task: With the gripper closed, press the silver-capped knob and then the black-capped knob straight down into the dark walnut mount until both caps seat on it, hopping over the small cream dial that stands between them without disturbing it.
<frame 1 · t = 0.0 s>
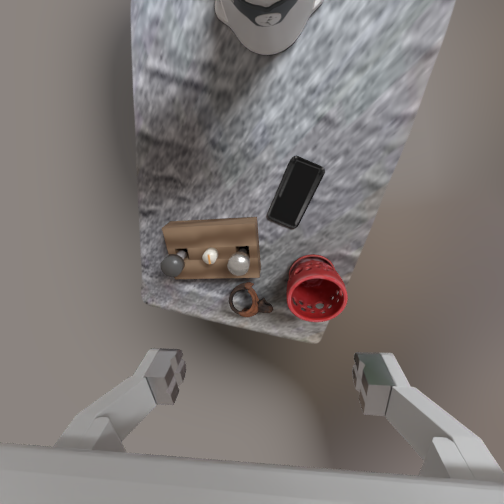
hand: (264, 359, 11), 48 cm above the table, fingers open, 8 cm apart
silver knob: (240, 258, 54), point 8 cm above the table, slide at 0.0 cm
phone: (294, 193, 56), on the table
mount: (216, 245, 63), on the table
dial: (211, 253, 58), point 5 cm above the table, touching mount
plant pot: (310, 272, 63), on the table
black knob: (176, 260, 56), point 8 cm above the table, slide at 0.0 cm
brown open round fixture: (252, 295, 69), on the table
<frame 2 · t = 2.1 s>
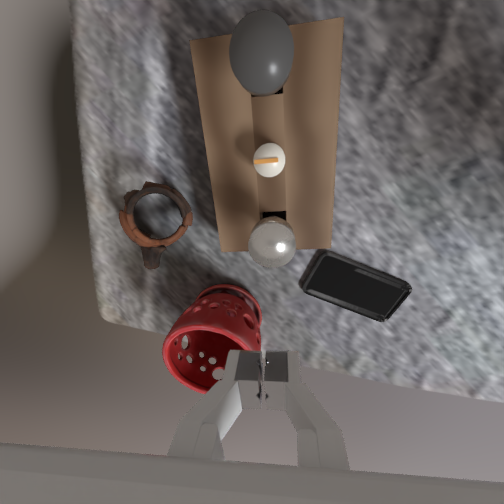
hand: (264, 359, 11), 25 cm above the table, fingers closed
silver knob: (272, 234, 26), point 8 cm above the table, slide at 0.0 cm
phone: (353, 284, 38), on the table
mount: (271, 155, 31), on the table
dial: (270, 158, 26), point 5 cm above the table, touching mount
plant pot: (226, 306, 42), on the table
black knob: (263, 66, 20), point 8 cm above the table, slide at 0.0 cm
brown open round fixture: (163, 219, 36), on the table
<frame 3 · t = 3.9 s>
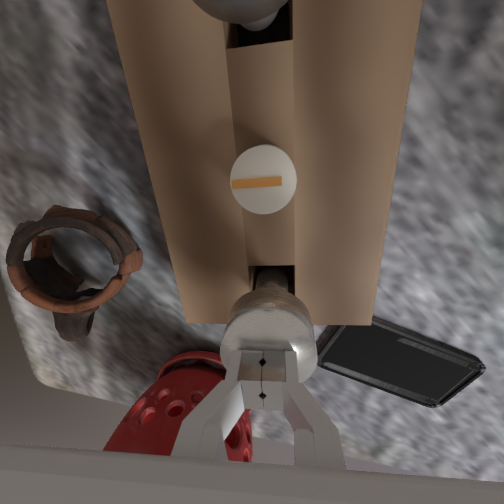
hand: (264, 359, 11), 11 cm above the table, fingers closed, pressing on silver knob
silver knob: (270, 310, 14), point 8 cm above the table, slide at 0.7 cm, touching gripper
phone: (392, 354, 26), on the table
mount: (269, 165, 18), on the table
dial: (265, 174, 14), point 5 cm above the table, touching mount
plant pot: (206, 375, 30), on the table
brown open round fixture: (101, 257, 24), on the table
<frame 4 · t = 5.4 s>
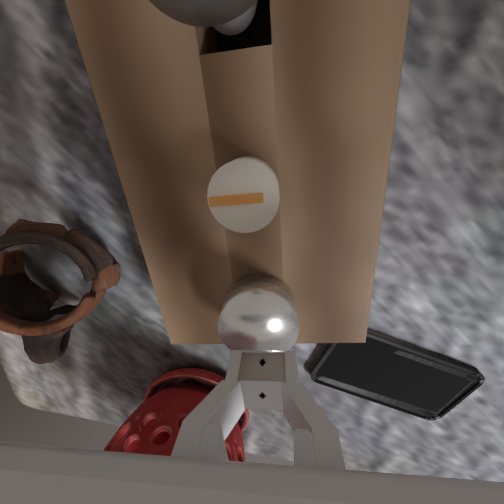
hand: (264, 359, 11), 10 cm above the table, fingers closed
silver knob: (260, 294, 17), point 4 cm above the table, slide at 4.5 cm
phone: (389, 366, 25), on the table
mount: (255, 175, 17), on the table
dial: (248, 188, 13), point 5 cm above the table, touching mount
plant pot: (197, 392, 28), on the table
brown open round fixture: (77, 271, 23), on the table
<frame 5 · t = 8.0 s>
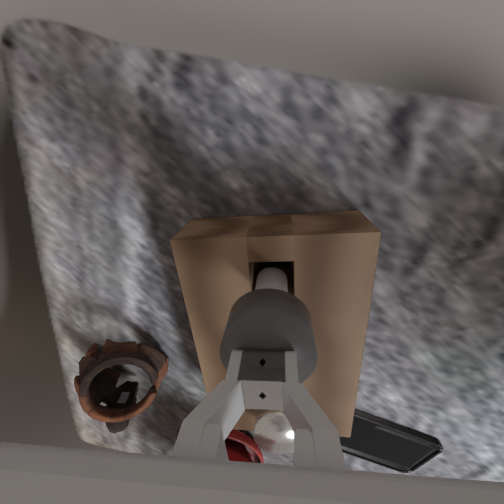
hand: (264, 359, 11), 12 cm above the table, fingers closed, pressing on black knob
silver knob: (279, 401, 25), point 4 cm above the table, slide at 4.5 cm
phone: (372, 432, 32), on the table
mount: (276, 317, 25), on the table
plant pot: (223, 441, 37), on the table
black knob: (270, 310, 14), point 8 cm above the table, slide at 0.1 cm, touching gripper
brown open round fixture: (135, 357, 31), on the table
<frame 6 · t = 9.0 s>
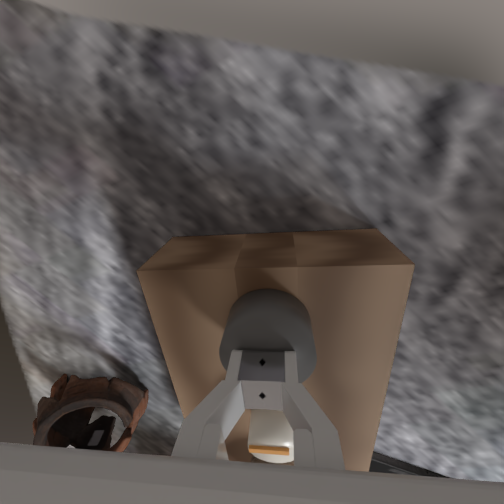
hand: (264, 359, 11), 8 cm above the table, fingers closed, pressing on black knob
silver knob: (278, 450, 21), point 4 cm above the table, slide at 4.5 cm
phone: (384, 472, 29), on the table
mount: (275, 350, 21), on the table
dial: (274, 406, 17), point 5 cm above the table, touching mount
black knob: (269, 311, 14), point 4 cm above the table, slide at 4.4 cm, touching gripper
brown open round fixture: (111, 389, 27), on the table
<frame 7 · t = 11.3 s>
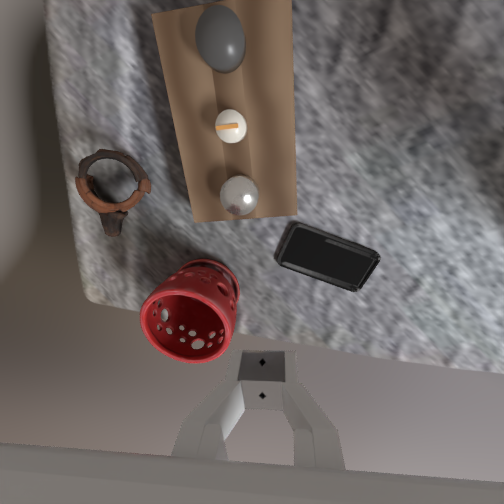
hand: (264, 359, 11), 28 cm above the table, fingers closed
silver knob: (242, 191, 32), point 4 cm above the table, slide at 4.5 cm
phone: (326, 256, 40), on the table
mount: (239, 129, 33), on the table
dial: (233, 127, 28), point 5 cm above the table, touching mount
plant pot: (206, 283, 44), on the table
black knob: (225, 49, 26), point 4 cm above the table, slide at 4.5 cm
brown open round fixture: (124, 190, 38), on the table
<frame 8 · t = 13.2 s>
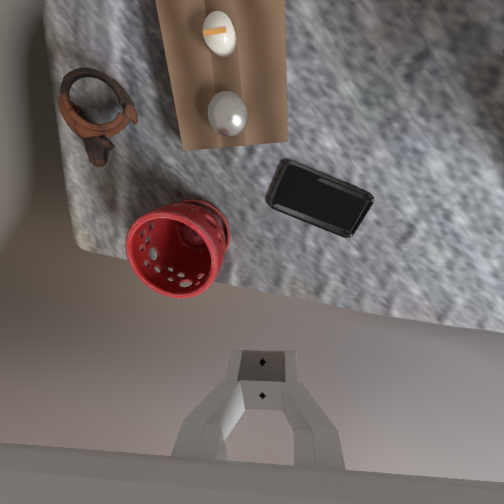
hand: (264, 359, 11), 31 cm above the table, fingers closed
silver knob: (232, 116, 31), point 4 cm above the table, slide at 4.5 cm
phone: (319, 199, 39), on the table
mount: (231, 54, 32), on the table
dial: (223, 40, 27), point 5 cm above the table, touching mount
plant pot: (197, 229, 43), on the table
brown open round fixture: (111, 122, 37), on the table
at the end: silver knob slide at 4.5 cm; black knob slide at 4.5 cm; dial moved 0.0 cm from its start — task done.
